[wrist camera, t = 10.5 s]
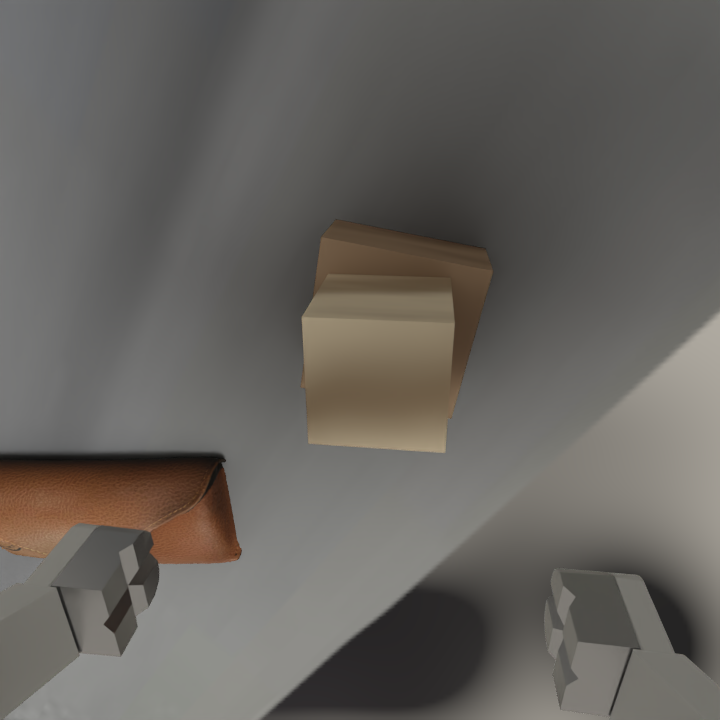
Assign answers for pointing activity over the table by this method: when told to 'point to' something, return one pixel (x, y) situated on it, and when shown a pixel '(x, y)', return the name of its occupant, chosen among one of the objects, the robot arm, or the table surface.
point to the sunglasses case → (120, 505)
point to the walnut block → (413, 258)
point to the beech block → (379, 362)
